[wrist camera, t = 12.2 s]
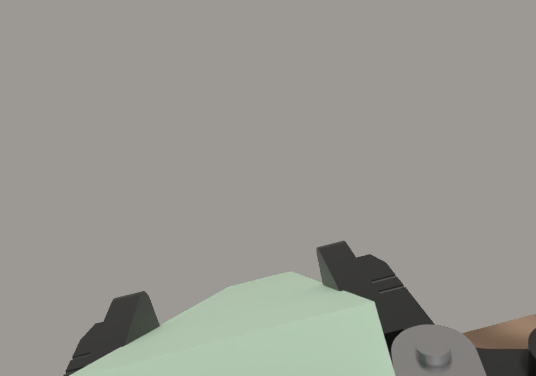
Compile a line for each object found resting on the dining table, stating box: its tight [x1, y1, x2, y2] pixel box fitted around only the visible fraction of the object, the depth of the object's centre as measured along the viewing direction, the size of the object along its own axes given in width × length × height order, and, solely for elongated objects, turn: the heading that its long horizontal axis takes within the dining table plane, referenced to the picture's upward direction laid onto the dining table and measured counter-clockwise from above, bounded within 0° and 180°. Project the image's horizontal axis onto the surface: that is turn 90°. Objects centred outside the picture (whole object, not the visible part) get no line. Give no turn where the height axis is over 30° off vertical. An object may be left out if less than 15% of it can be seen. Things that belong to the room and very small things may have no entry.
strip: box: [69, 271, 395, 376], centre depth 17 cm, size 4×24×2 cm, turn 0°
